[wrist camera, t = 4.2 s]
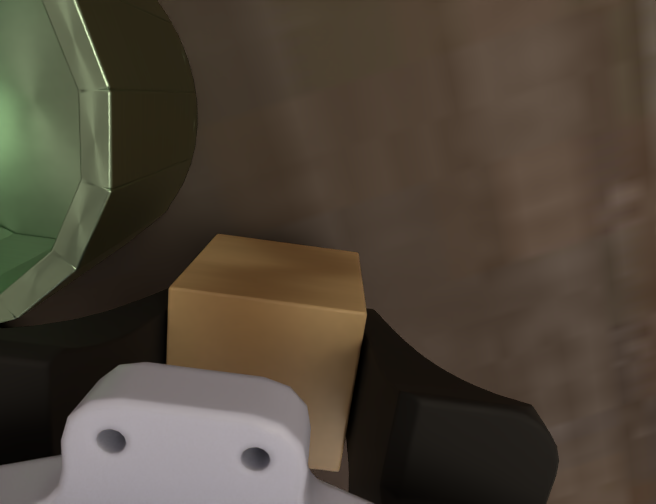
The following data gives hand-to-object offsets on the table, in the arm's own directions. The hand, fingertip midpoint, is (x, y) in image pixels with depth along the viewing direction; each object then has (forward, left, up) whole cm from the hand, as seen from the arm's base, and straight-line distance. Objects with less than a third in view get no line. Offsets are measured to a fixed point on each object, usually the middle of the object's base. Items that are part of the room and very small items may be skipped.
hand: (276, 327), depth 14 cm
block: (0, 0, -1) cm, 1 cm away
